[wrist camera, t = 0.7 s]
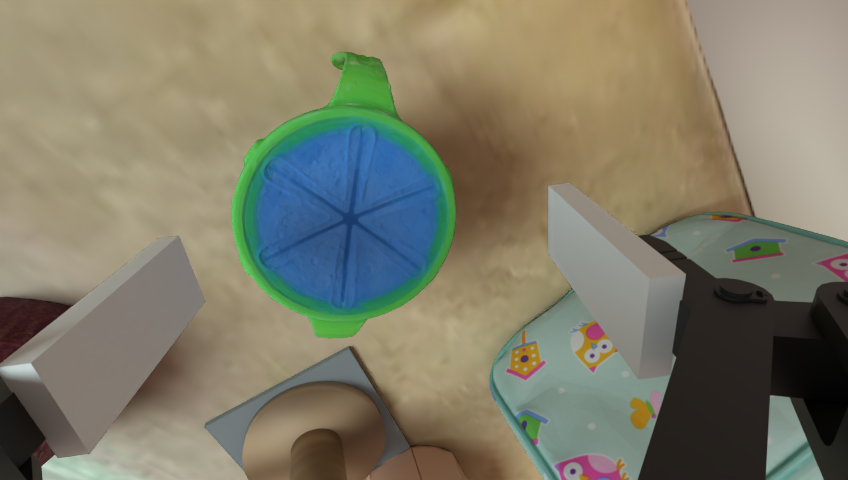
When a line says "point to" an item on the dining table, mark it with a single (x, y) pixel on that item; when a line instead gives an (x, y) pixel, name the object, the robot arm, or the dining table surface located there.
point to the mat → (334, 368)
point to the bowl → (419, 466)
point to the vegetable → (26, 335)
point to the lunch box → (641, 398)
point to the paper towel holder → (314, 434)
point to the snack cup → (344, 207)
